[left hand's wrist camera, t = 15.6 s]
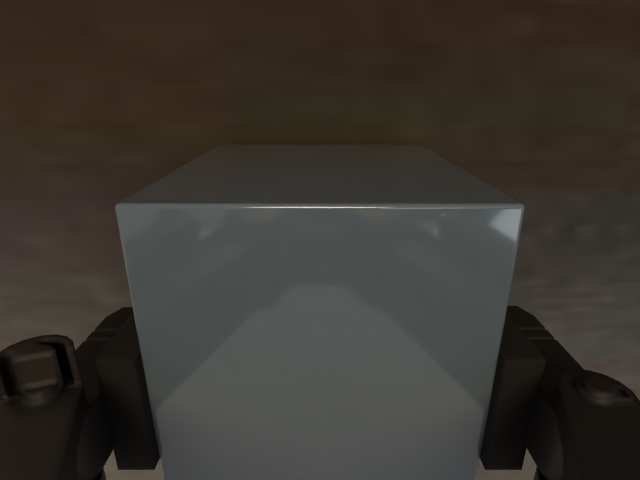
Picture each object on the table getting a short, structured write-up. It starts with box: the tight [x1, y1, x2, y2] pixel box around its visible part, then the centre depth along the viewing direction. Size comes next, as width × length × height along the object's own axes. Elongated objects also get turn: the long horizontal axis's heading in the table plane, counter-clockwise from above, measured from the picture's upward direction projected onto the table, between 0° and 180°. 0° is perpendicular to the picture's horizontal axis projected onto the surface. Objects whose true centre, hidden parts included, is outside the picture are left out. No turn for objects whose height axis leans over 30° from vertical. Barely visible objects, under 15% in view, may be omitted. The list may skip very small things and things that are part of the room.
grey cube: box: [115, 145, 525, 480], centre depth 12 cm, size 7×8×8 cm
